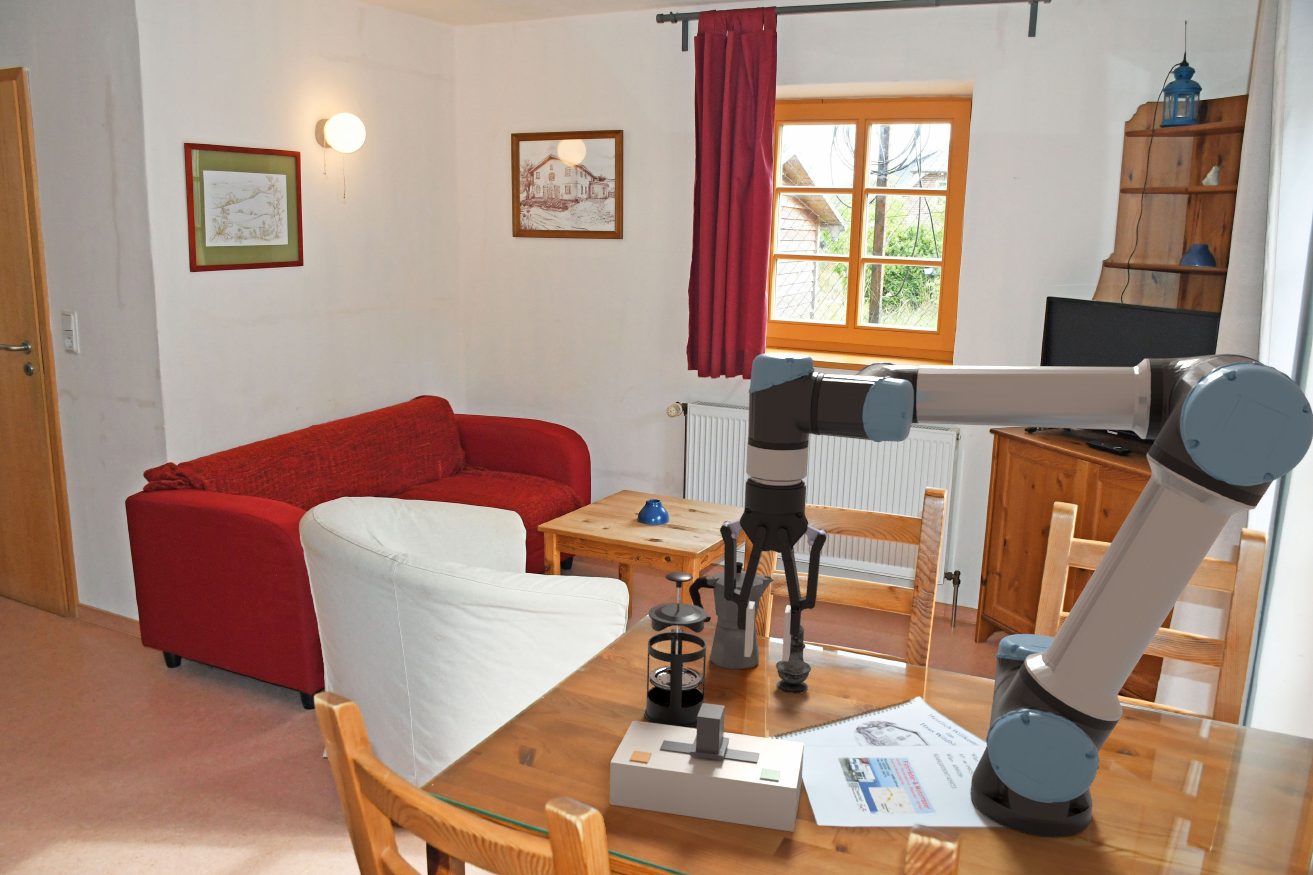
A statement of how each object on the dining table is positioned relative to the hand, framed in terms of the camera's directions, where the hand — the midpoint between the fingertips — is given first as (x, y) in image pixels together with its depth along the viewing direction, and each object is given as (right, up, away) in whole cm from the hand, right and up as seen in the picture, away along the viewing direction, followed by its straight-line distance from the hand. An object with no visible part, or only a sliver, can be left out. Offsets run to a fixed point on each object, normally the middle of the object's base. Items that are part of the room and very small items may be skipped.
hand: (767, 654), depth 128 cm
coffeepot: (-1, -12, +49) cm, 50 cm away
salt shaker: (+8, -14, +39) cm, 42 cm away
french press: (-11, -16, +28) cm, 34 cm away
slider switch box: (-7, -20, +5) cm, 22 cm away
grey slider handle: (-7, -13, +4) cm, 16 cm away
